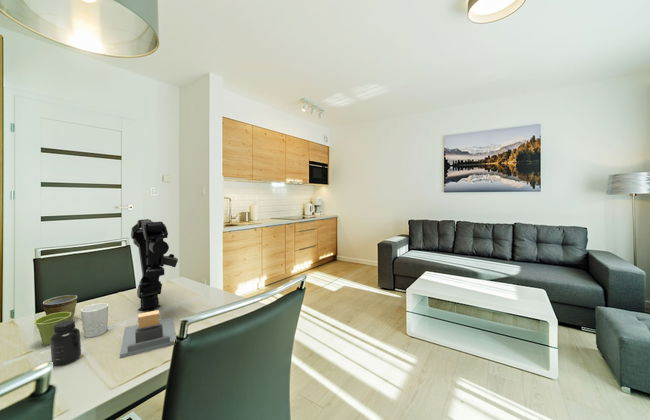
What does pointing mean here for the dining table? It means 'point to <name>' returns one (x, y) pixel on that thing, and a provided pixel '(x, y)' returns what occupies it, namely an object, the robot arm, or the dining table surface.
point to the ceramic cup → (61, 305)
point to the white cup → (94, 319)
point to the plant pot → (50, 324)
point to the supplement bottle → (65, 343)
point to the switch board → (147, 338)
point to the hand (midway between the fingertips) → (155, 287)
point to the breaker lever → (148, 320)
